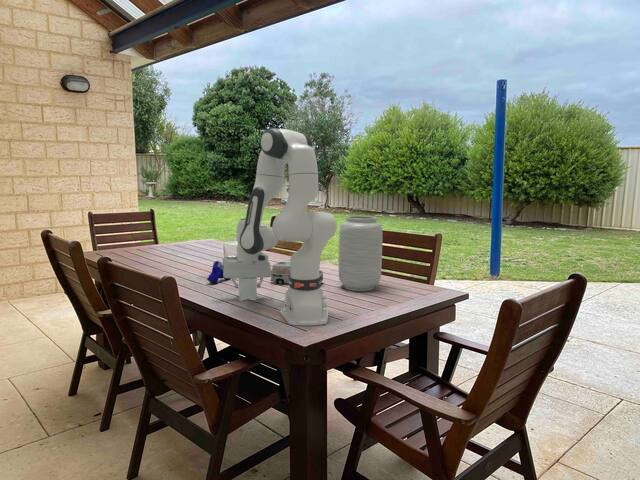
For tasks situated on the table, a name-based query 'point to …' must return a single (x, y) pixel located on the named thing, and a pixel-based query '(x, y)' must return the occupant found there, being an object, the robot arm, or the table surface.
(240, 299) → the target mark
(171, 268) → the table surface
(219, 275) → the toy gun
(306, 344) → the table surface
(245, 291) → the grey block
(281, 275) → the toy car
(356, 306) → the table surface
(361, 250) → the vase
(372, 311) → the table surface
